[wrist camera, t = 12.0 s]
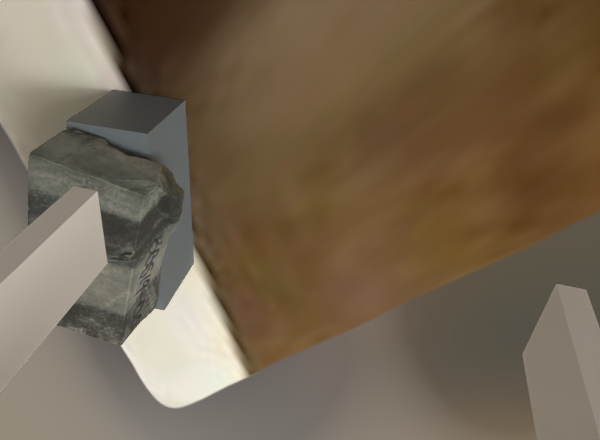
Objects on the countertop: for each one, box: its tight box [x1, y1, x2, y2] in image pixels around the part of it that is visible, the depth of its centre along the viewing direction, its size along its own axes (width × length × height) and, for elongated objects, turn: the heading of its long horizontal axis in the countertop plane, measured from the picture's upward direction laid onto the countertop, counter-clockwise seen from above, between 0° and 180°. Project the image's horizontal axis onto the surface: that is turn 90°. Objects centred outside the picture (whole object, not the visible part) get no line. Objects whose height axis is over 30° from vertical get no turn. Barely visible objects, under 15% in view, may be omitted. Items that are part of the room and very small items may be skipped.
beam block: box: [66, 90, 194, 310], centre depth 44 cm, size 16×6×7 cm, turn 176°
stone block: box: [28, 127, 185, 345], centre depth 39 cm, size 9×14×5 cm, turn 164°
